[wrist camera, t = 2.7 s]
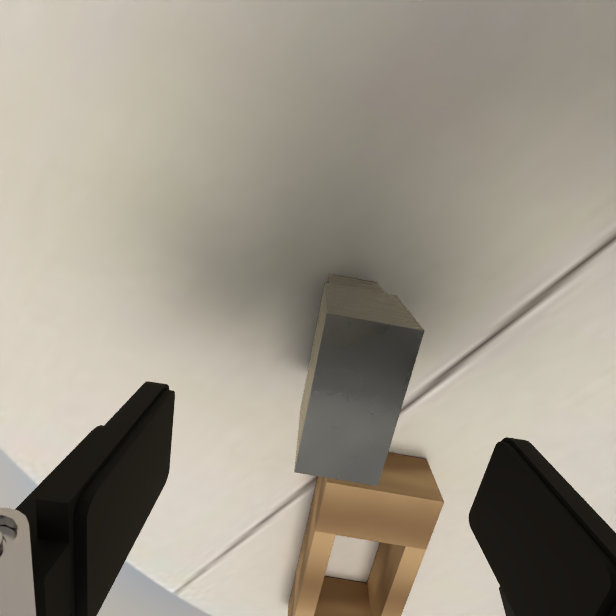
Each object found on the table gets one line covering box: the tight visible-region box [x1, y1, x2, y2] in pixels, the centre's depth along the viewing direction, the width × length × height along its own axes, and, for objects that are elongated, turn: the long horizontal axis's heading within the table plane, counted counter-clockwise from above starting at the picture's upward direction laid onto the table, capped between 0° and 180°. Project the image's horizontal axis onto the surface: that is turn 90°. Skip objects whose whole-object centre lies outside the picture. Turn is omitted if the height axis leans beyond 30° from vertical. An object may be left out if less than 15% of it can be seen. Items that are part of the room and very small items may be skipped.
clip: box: [294, 274, 424, 486], centre depth 15 cm, size 6×3×7 cm, turn 170°
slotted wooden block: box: [288, 453, 444, 616], centre depth 21 cm, size 14×6×3 cm, turn 170°
